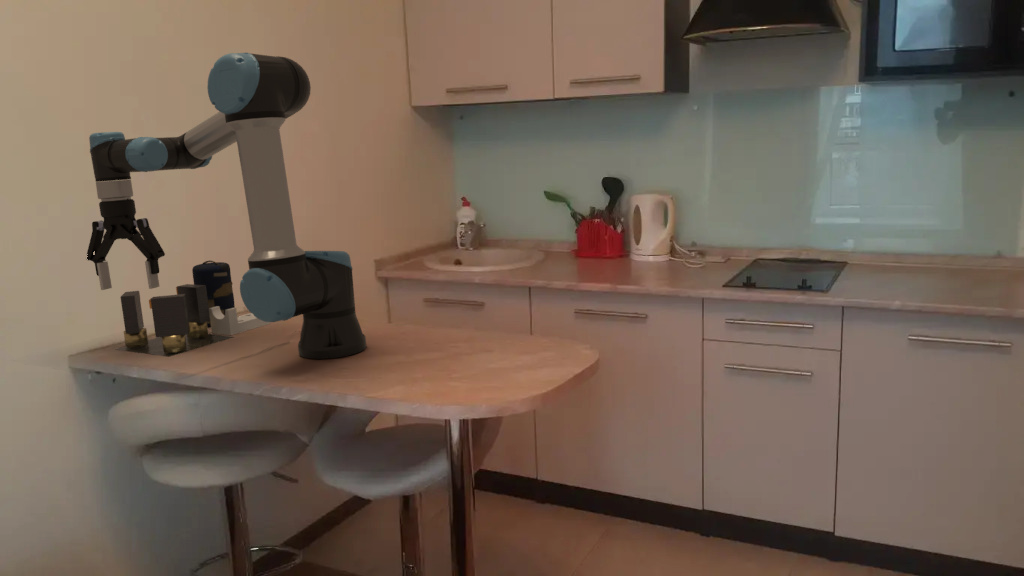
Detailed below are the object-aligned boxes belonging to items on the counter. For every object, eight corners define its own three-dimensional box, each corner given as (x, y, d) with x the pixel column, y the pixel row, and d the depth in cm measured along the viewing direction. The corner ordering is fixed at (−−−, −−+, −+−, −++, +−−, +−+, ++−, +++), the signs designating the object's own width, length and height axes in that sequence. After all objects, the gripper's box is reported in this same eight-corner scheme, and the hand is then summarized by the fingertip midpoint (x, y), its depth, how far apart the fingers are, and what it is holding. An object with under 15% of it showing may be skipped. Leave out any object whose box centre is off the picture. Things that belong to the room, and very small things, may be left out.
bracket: (231, 339, 199) (227, 310, 197) (212, 337, 202) (208, 308, 201) (270, 327, 210) (267, 299, 208) (251, 325, 213) (248, 298, 212)
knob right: (215, 334, 199) (209, 284, 197) (198, 338, 195) (192, 288, 193) (195, 332, 203) (189, 283, 201) (179, 336, 199) (172, 286, 196)
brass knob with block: (146, 347, 189) (138, 294, 187) (123, 349, 188) (115, 297, 186) (150, 340, 196) (143, 289, 194) (128, 342, 195) (121, 292, 193)
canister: (224, 320, 221) (217, 256, 217) (243, 324, 215) (236, 258, 211) (192, 328, 213) (184, 262, 210) (211, 331, 207) (202, 264, 204)
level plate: (235, 339, 197) (234, 331, 196) (169, 359, 180) (168, 350, 180) (182, 334, 206) (180, 325, 206) (115, 352, 190) (113, 343, 190)
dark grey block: (192, 345, 188) (185, 293, 186) (189, 350, 184) (182, 296, 181) (159, 349, 187) (152, 296, 184) (155, 354, 182) (147, 300, 180)
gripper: (172, 195, 186) (185, 284, 190) (84, 200, 192) (98, 286, 196) (150, 197, 179) (164, 290, 182) (60, 203, 185) (75, 292, 189)
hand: (130, 288), depth 189 cm, fingers open, 13 cm apart
